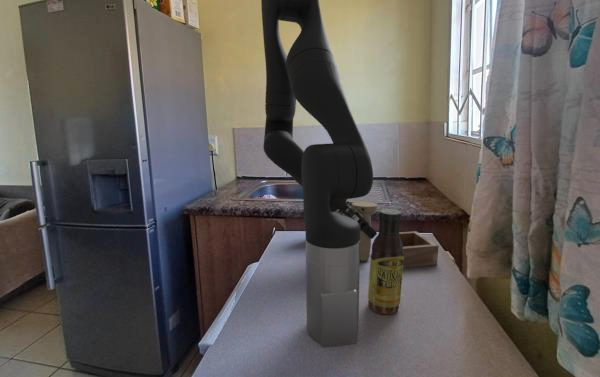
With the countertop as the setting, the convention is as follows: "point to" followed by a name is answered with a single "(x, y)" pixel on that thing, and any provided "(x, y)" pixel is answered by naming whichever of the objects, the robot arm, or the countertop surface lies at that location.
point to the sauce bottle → (386, 265)
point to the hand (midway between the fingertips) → (371, 233)
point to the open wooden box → (418, 249)
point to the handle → (366, 211)
